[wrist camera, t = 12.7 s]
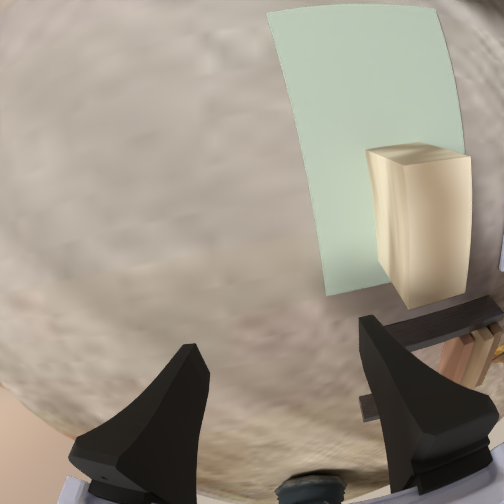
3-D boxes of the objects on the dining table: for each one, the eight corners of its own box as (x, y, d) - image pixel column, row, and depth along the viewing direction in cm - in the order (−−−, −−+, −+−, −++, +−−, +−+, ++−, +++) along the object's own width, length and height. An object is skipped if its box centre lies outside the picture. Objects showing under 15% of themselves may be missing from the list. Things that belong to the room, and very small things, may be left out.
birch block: (418, 141, 16) (470, 156, 11) (425, 249, 20) (464, 292, 14) (364, 149, 17) (404, 165, 12) (378, 260, 20) (408, 310, 15)
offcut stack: (483, 304, 22) (506, 331, 18) (467, 361, 25) (482, 388, 21) (449, 315, 23) (470, 347, 19) (436, 372, 26) (450, 402, 22)
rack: (488, 295, 21) (504, 312, 19) (467, 367, 26) (477, 385, 23) (359, 331, 24) (367, 356, 21) (358, 400, 28) (363, 422, 25)
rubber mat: (432, 10, 12) (434, 8, 12) (460, 262, 20) (462, 264, 20) (266, 14, 14) (265, 12, 13) (325, 293, 22) (326, 296, 22)
